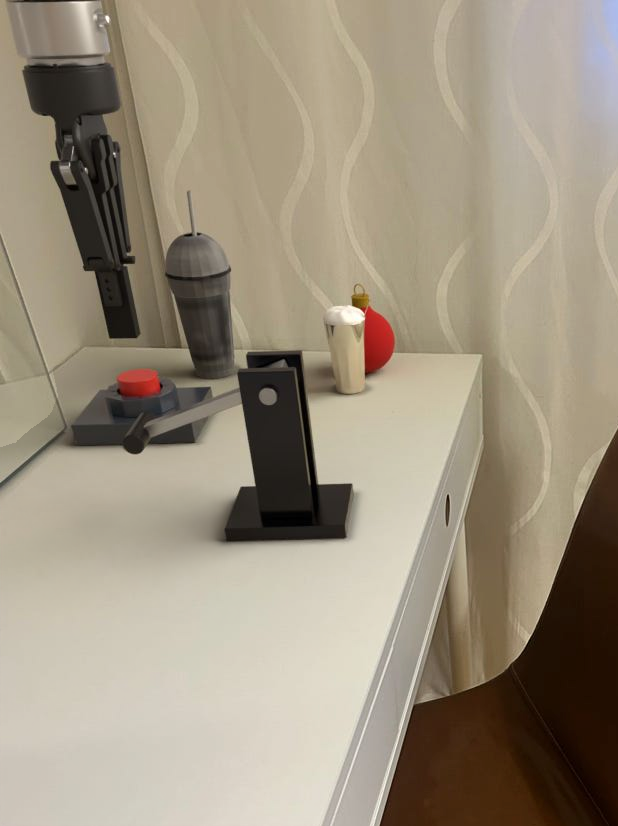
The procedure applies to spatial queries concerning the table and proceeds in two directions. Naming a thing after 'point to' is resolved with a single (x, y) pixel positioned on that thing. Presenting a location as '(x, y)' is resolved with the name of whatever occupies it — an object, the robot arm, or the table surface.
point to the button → (138, 382)
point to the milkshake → (346, 346)
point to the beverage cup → (202, 299)
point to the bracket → (283, 459)
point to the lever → (180, 417)
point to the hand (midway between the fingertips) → (125, 335)
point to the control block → (137, 414)
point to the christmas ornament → (374, 334)
